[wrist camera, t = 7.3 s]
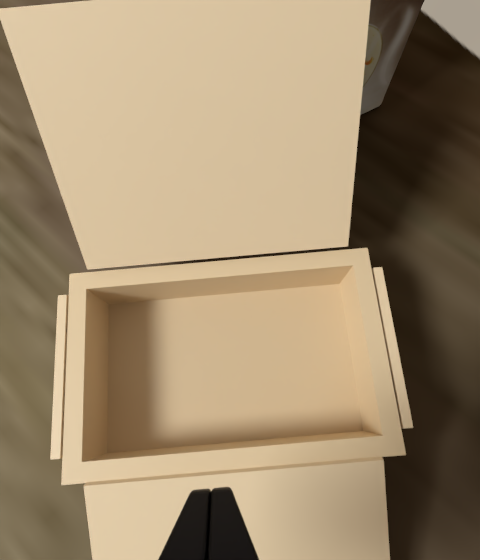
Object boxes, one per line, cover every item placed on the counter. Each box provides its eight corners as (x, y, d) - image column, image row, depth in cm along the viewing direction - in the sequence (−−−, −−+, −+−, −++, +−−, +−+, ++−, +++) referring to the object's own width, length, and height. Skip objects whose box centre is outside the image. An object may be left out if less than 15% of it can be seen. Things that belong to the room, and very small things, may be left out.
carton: (428, 658, 17) (474, 724, 14) (77, 688, 17) (33, 761, 14) (359, 269, 22) (379, 244, 19) (87, 293, 23) (56, 273, 19)
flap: (373, -25, 13) (368, -25, 13) (-4, 9, 13) (3, 8, 13) (348, 246, 19) (345, 240, 19) (87, 269, 19) (90, 263, 19)
